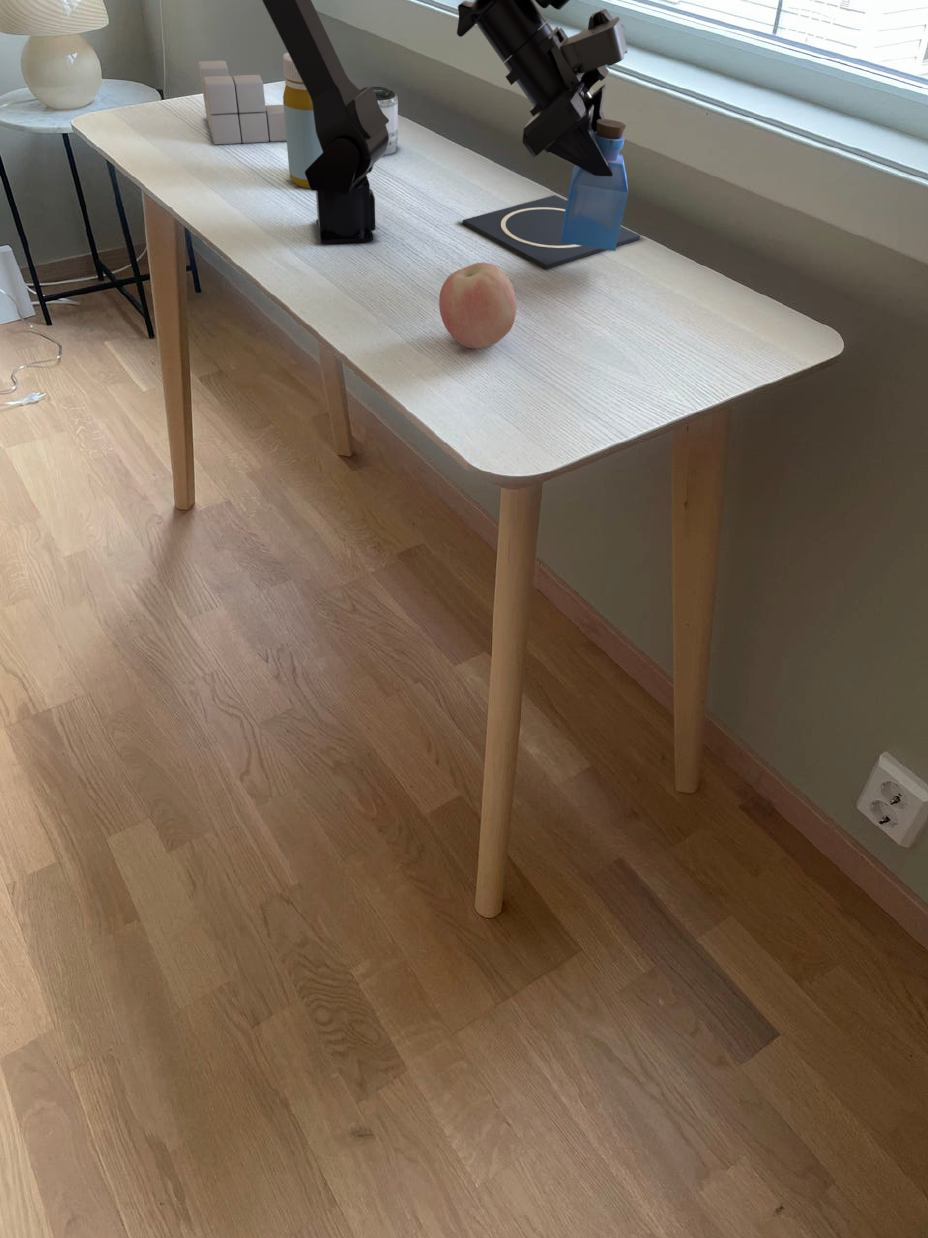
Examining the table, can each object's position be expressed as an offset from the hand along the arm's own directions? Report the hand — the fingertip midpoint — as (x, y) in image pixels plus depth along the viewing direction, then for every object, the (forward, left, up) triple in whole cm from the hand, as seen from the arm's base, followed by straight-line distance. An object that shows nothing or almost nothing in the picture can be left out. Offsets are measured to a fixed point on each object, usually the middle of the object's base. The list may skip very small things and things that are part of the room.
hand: (612, 171), depth 101 cm
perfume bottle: (-2, 0, -7) cm, 8 cm away
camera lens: (-20, +44, -12) cm, 50 cm away
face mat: (-2, +12, -11) cm, 17 cm away
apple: (-18, -15, -12) cm, 26 cm away
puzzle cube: (-38, +54, -12) cm, 68 cm away
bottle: (-30, +32, -12) cm, 46 cm away
